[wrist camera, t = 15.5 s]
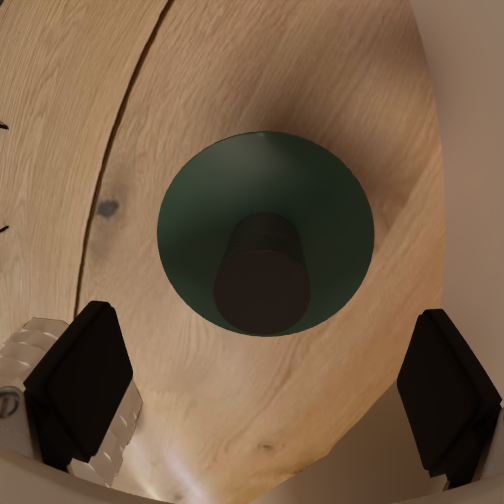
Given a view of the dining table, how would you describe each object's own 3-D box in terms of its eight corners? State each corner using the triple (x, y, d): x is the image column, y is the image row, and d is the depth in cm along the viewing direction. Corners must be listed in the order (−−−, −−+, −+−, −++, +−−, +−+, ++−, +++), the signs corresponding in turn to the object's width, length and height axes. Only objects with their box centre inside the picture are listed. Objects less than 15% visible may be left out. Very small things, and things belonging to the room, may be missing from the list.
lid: (407, 206, 17) (462, 246, 11) (296, 353, 22) (301, 425, 16) (222, 91, 16) (194, 72, 10) (135, 271, 20) (89, 327, 14)
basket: (129, 442, 47) (99, 525, 29) (22, 381, 44) (-25, 448, 27) (162, 364, 38) (112, 489, 20) (16, 282, 35) (-70, 359, 17)
